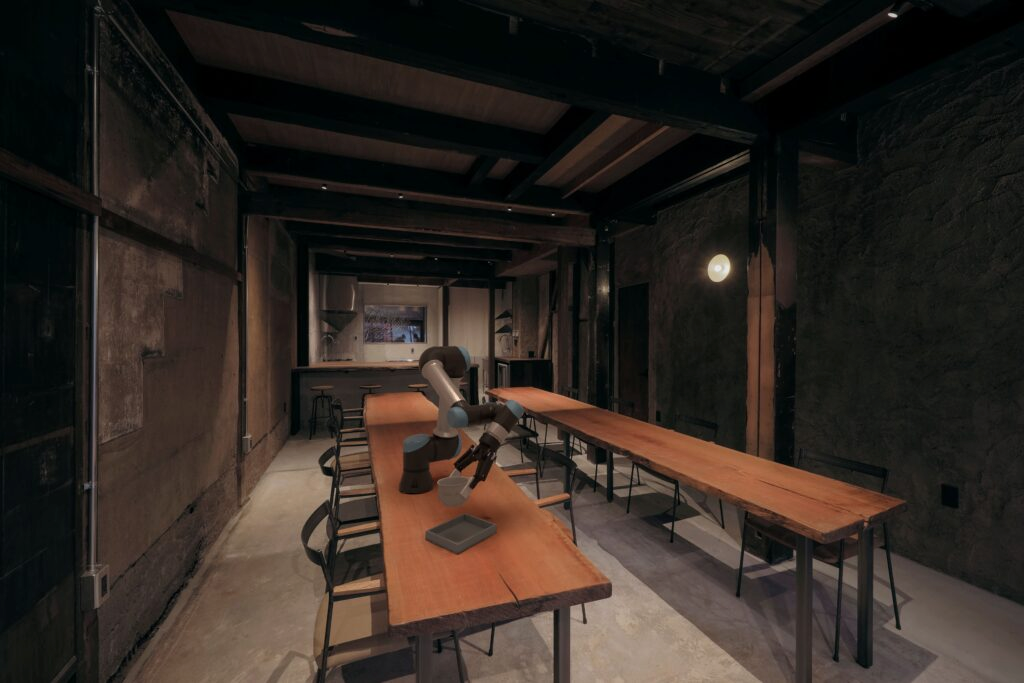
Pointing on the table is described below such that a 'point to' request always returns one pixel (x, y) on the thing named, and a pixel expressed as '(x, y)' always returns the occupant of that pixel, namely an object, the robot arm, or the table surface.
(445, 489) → the teacup
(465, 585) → the table surface
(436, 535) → the tray
